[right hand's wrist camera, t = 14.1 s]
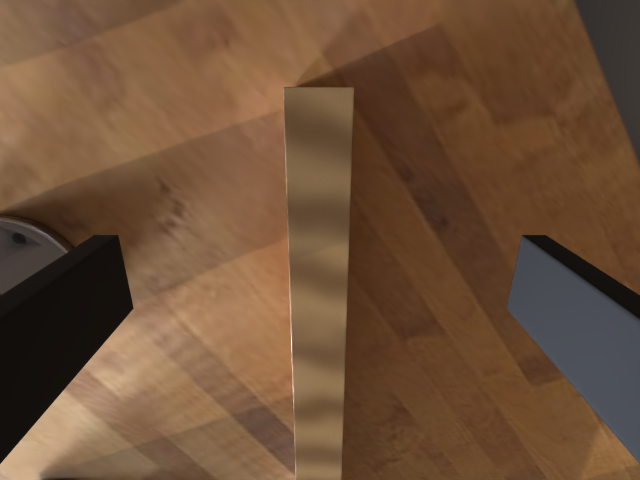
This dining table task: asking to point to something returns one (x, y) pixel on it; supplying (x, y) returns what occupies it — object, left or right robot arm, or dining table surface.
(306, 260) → the beam
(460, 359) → the dining table surface
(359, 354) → the dining table surface
